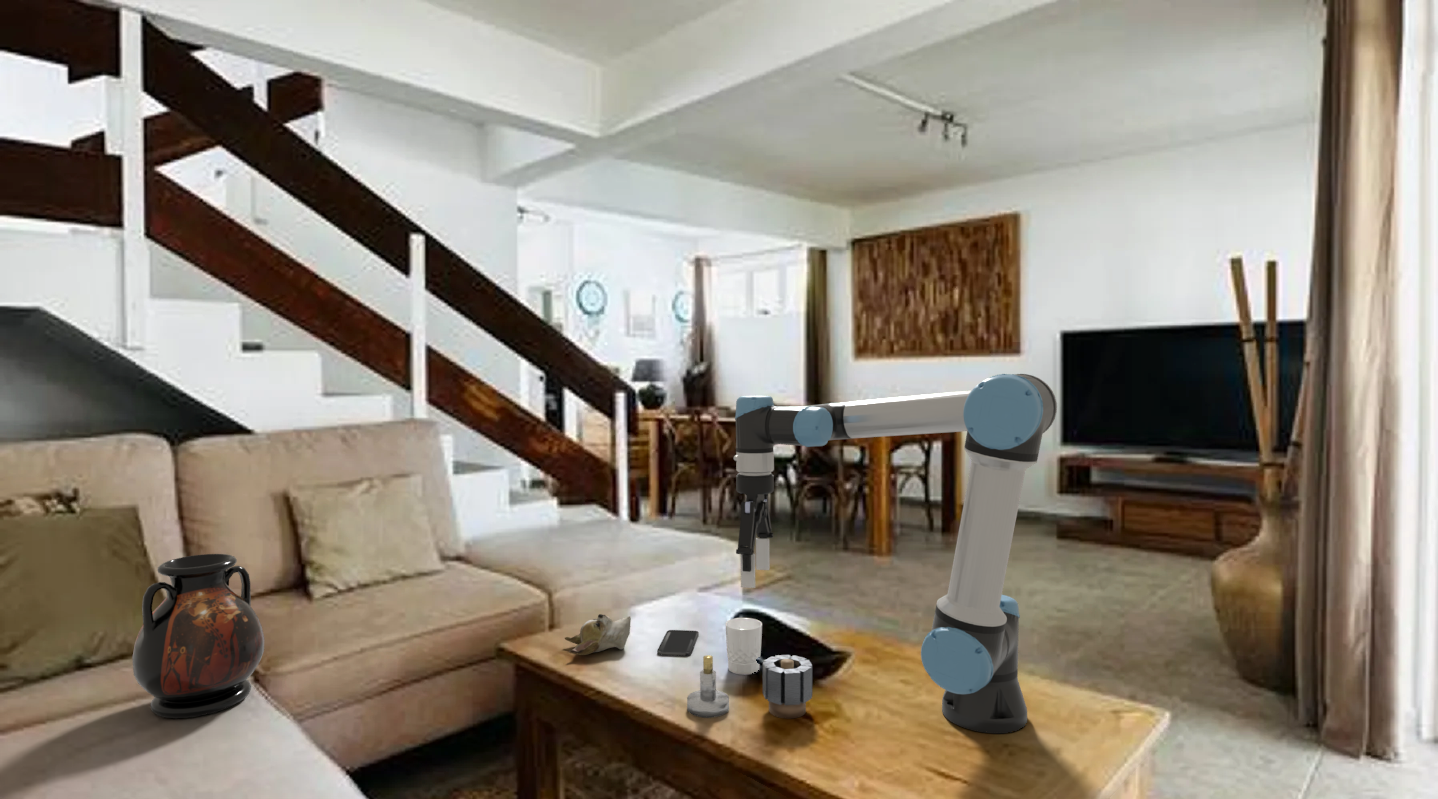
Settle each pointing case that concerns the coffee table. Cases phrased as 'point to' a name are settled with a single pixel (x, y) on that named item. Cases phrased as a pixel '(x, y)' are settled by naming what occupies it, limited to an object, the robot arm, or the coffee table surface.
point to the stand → (787, 710)
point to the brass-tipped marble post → (708, 694)
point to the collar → (787, 680)
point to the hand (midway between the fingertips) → (755, 578)
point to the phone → (678, 643)
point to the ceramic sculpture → (601, 635)
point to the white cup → (743, 645)
